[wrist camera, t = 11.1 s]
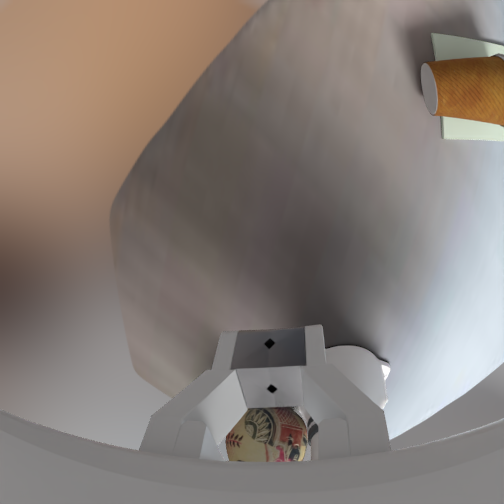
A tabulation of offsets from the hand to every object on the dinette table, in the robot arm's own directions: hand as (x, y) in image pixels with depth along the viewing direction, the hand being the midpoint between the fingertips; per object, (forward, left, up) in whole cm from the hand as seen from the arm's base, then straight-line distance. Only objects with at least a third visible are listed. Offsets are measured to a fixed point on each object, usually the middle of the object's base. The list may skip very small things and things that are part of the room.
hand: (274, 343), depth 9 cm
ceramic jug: (-47, +8, -31) cm, 57 cm away
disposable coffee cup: (+7, -17, -28) cm, 33 cm away
